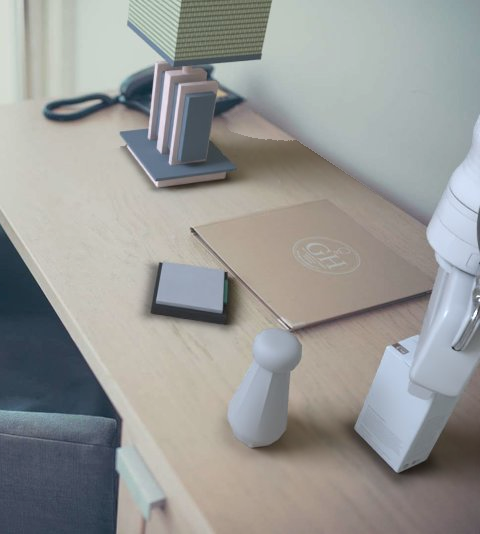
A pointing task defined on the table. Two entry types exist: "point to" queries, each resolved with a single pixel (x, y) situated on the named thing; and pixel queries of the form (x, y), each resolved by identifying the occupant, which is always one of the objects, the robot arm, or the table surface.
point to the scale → (190, 292)
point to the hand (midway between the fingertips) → (427, 357)
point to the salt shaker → (265, 389)
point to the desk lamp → (190, 81)
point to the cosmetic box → (401, 411)
